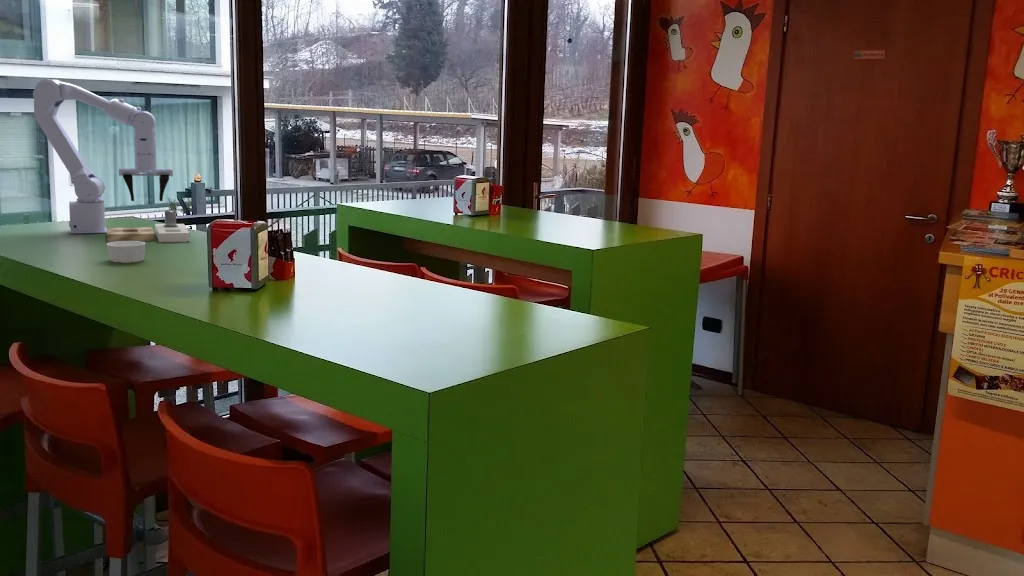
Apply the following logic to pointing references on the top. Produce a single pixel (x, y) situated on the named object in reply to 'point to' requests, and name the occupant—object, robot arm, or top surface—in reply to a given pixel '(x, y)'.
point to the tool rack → (172, 233)
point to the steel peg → (170, 218)
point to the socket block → (130, 234)
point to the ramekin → (126, 251)
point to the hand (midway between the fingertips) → (146, 200)
